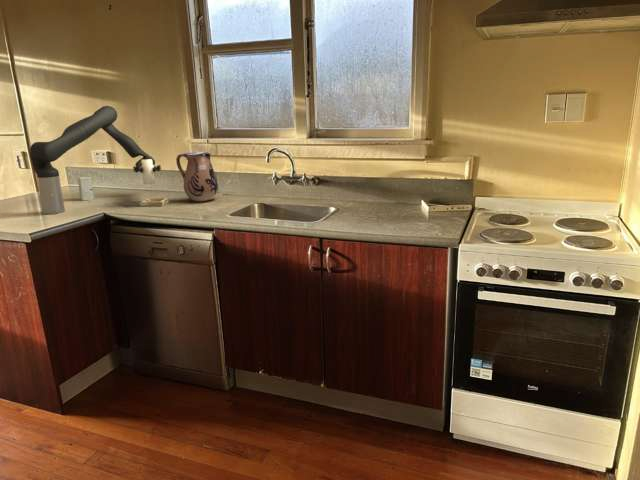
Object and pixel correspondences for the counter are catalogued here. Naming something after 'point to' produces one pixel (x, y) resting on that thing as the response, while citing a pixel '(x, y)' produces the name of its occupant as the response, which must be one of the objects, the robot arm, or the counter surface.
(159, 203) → the dispenser tray
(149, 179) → the white pillar candle
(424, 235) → the counter surface
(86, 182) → the skincare box
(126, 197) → the counter surface
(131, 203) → the tear pad
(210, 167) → the ceramic pitcher
